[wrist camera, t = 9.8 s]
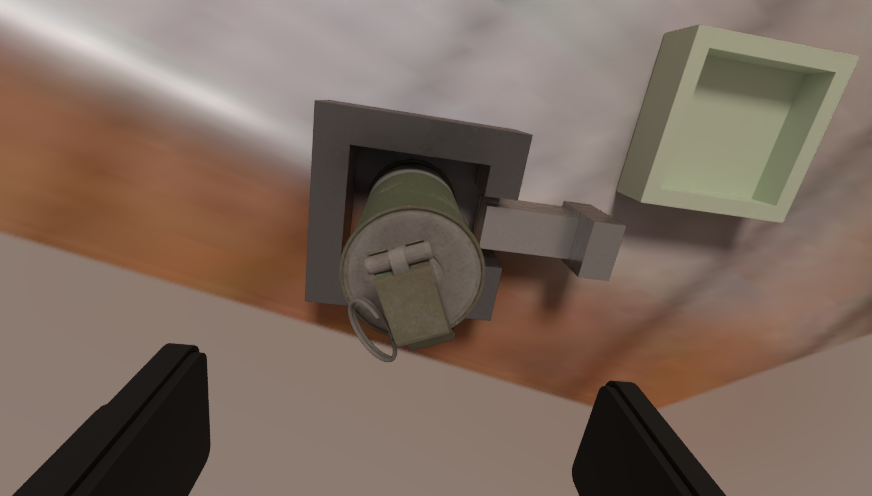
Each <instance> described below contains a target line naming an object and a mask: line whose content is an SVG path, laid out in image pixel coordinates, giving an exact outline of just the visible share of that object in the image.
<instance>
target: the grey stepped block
mask: <svg viewBox="0 0 872 496" xmlns="http://www.w3.org/2000/svg"><path fill="white" fill-rule="evenodd" d="M625 229H626V225H624V224H622V223H621V222H619V221H617V220H616V219H614V218H612V217H611V216H609V215H607V214H606V213H604V212H602V211H601V210H599V209H597V208H595V207H594V206H592V205H588V204H581V203H574V202H567V201H564V204H563V207H562V206H555V205H547V204H540V203H533V202H526V201H519V200H518V201H517V200H510V199H503V198H496V197H489V196H483V195H480V196H479V201H478V206H477V211H476V217H475V222H474V227H473V232H472V233H473V235H474V236H475V237H476V239H477V241H478V243H479V245H480V247H481V248H483V249H491V250H499V251H507V252H515V253H523V254H531V255H539V256H547V257H555V258H561V260H562V261H563V262H564V263H565V264H566V265H567V266H568V267H569V268H570V269H571V270H572V271H573V272H574V273H575V275H576V276H577V277H580V278H588V279H596V280H605V281H609V278H610V275H611V272H612V269H613V266H614V263H615V260H616V257H617V254H618V251H619V248H620V245H621V242H622V239H623V236H624V232H625Z"/></svg>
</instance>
